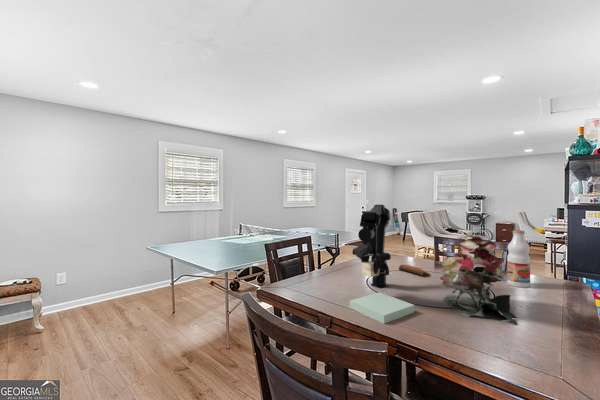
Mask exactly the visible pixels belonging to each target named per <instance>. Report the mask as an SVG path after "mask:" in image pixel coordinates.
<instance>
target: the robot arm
mask: <svg viewBox="0 0 600 400" xmlns="http://www.w3.org/2000/svg"><path fill="white" fill-rule="evenodd" d="M360 217H361V218H360V222H359V227H360V228H361V227H362V228H361V229H360V230H359V231H358V234H357V235H358V239H359V240H360V241H361V244H360V245H358V246H356V247H354V248H353V249H352V255H353V256H354V255H355V256H356V257H357V258H359V260H360V261H361V263H362V262H368V261H372V262H374V274H377V272H378V270H379V275H378V276H373V277H372V283H371V284H370V285H371V286H373V287H377V288H379V289H381V288H384V287H388V286H389V284H387V276H389V275H390V269H389V266H388V263H387V261H390V260H391V254H390V253H389V252H385V242H386V228H387V227H388V225H389V224H390V221H391V212H390V210H389V209H388V208H387V207H385V204H374V205H373V207H372V208H371V209H370V210H364V211H363V212H362V213H361V216H360ZM370 257H371V259H370Z"/></svg>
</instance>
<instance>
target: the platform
mask: <svg viewBox="0 0 600 400" xmlns="http://www.w3.org/2000/svg"><path fill="white" fill-rule="evenodd" d="M349 309H351V310H353V311H356V312H358V313H361V314H362V315H364V316H366V317H368V316H369V318H371V319H373V320H375V321H377V322H379V323H381V324H386V323H390V322H393V321H395V320H397V319H400V318H403V317H405V316H408V315H411V314H414V313H415V305H414V304H413V303H409V302H407V301H404V300H402V299H399V298H396V297H393V296H390V295H388V294H385V293H382V292H375V293H372V294H368V295H365V296H361V297H357V298H354V299H351V300H349Z"/></svg>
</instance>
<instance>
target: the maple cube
mask: <svg viewBox="0 0 600 400" xmlns="http://www.w3.org/2000/svg"><path fill="white" fill-rule="evenodd" d="M361 275H363V276H366V277H369V278H371V277H372V278H373V276H378V275H379V270H378V272H377V274H374V262H372V261H371V260H369V261H368V262H362V261H361Z"/></svg>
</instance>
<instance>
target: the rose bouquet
mask: <svg viewBox="0 0 600 400" xmlns="http://www.w3.org/2000/svg"><path fill="white" fill-rule="evenodd" d="M464 240H465V241H462V242H460V243H459V245H460V246H461V247H462V249H463V250H461V253H460V254H461V255H462V256H452V257H451V256H450V257H448V258H447V259H446V260H444V261H442V264H441V265H442V266H441V268H442V269H443V270H442V271H441V272H442V273H444V274H443V275H442V276H440V277H439V279H440V280H441V281H442V283H441V285H442V286H446V287H449V288H452V289H454V290H453V291H452V292H451V294H449V293H448V294H447V295H446V296H445V297H443V298H442V301H443V302H444V303H446V304H447V305H449V306H451V308H452V309H451V311H453V312H455V311H459V312H460V313H461V314H462V315H463V316H465V317H467V318H470V317H472V316H476V317H481V318H486V319H492V317H491V316H489V315H487V314H485V313H484V310H485V307H486V308H488V309H490V310H491V311H494V312H496V313H499V314H500V315H501V316H503V317H505V318H506V319H503V320H500V321H501V322H504V323H508V324H513V325H515V326H517V325H518V324H517V322H516V321H517V320H516V319H512V318H517V316H516V315H514V314H513V313H512V312H510V310H511V304H510V301H511V298H510V297H512V295H511V294H501V295H496V296H494V298H492V297H490V295H491V293H490V288H491V286H492V287H493V286H494V284H492V283H497V282H502V281H506V278H504V277H503V276H502V275H501V273H502V269H503V267H502V266H501V265H502V264H503V263H504V262H505V260H506V259H505V258H504V257H498V256H496V255H497V253H496V252H495V250H496V249H497V248H498V245H497V244H496V242H493V241H491V240H489V239H487V238H485V236H481V235H471V236H470V235H469V236H468V235H467V237H465V238H464ZM507 272H508V273H513V272H511V271H507V270H506V273H507ZM484 284H487V285H488V287H487V288H485V285H484ZM456 291H459V293H458V295H455V294H456ZM463 294H467V295H469V296H470V297H464V296H463ZM476 306H477V308H476ZM516 324H517V325H516Z"/></svg>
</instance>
